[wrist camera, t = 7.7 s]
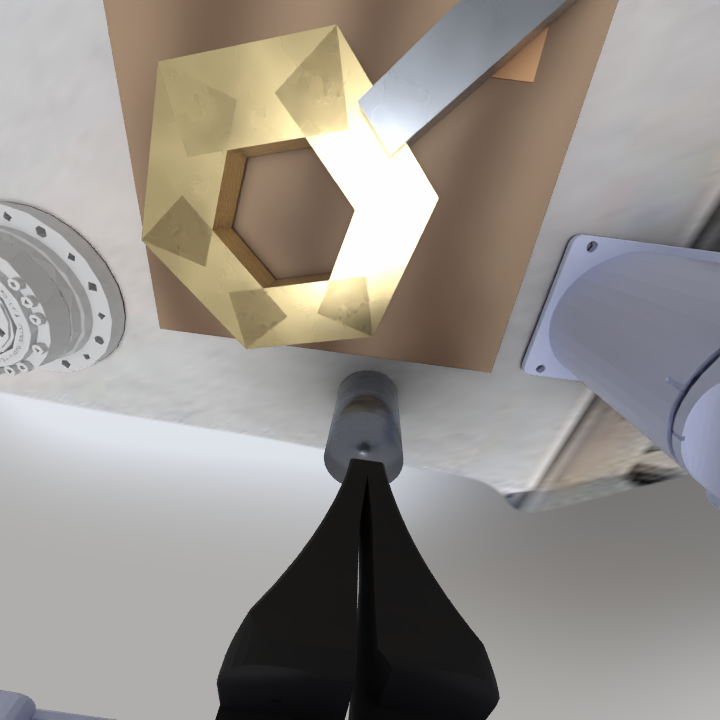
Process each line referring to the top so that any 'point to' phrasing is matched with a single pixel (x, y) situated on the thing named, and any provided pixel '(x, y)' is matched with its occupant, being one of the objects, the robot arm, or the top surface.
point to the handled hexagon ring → (333, 146)
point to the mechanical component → (53, 296)
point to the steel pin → (365, 425)
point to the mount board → (432, 151)
